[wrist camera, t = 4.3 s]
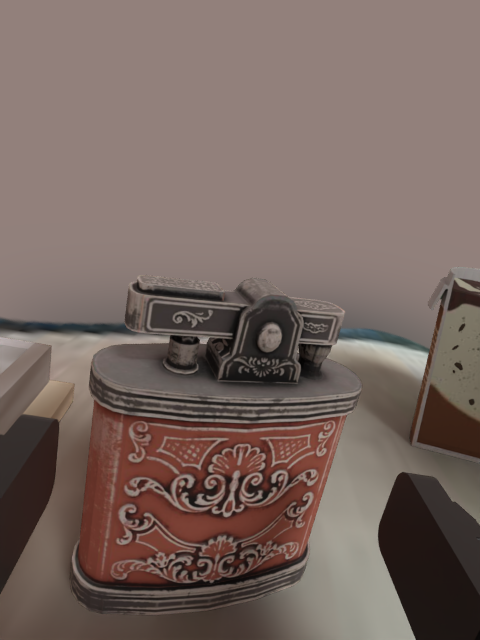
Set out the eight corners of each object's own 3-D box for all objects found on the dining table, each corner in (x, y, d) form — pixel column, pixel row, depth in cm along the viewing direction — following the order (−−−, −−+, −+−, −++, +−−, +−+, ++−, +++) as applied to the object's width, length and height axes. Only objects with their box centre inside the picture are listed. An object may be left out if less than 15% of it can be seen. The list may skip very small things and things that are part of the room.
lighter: (282, 518, 18) (349, 282, 15) (321, 593, 15) (413, 318, 12) (71, 536, 16) (99, 251, 12) (67, 632, 13) (102, 288, 9)
